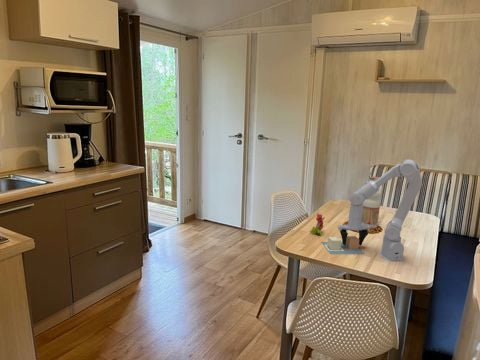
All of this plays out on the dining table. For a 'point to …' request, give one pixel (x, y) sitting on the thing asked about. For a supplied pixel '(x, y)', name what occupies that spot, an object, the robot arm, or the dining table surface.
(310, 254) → the dining table surface
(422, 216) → the dining table surface
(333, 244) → the base block
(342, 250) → the board
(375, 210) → the fruit juice
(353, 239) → the top block
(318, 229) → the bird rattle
